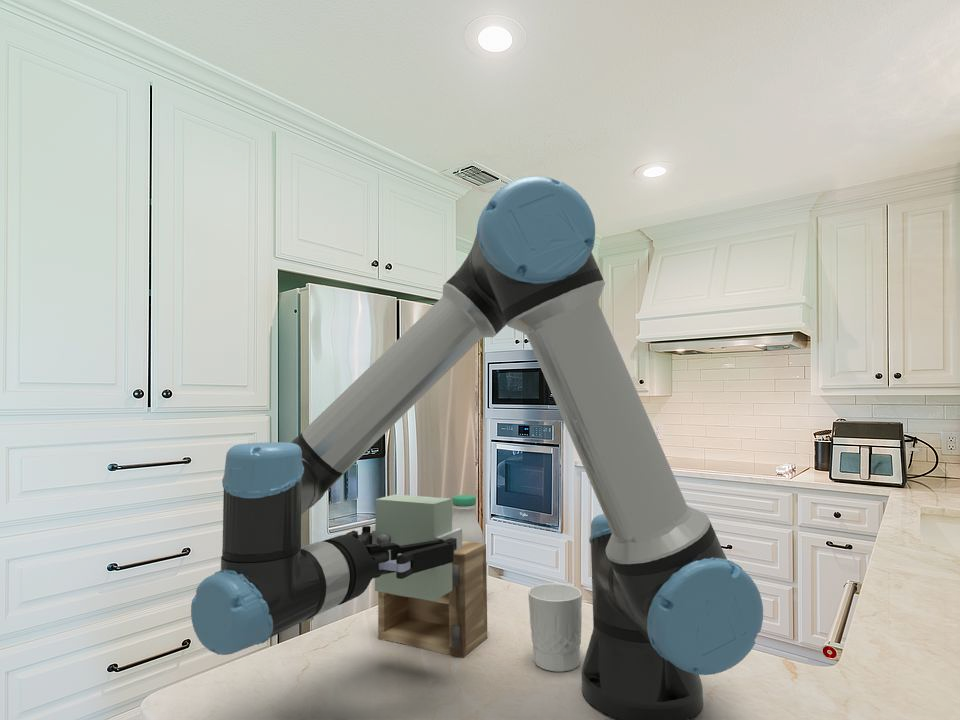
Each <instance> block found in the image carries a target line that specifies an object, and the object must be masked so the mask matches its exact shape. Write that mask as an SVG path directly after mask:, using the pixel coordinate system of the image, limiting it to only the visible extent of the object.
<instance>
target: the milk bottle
mask: <svg viewBox="0 0 960 720" xmlns="http://www.w3.org/2000/svg"><path fill="white" fill-rule="evenodd" d="M476 503H477V497H476V496H475V495H473V494H458V495H454V496H452V509H453V513H452V530H455V529H457V528H460V529H462V541H467V542H476V543H484V544H485V539H484V534H483V531H482V528H481V526H480V524H479V521H478V518H477V515H476V511H475V510H476V509H475V508H477V505H476Z"/></svg>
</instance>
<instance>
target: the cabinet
mask: <svg viewBox="0 0 960 720" xmlns="http://www.w3.org/2000/svg"><path fill="white" fill-rule="evenodd" d="M487 575H488V574H487V543H485V542H484V543H476V542H467V541H462V548H460V549H458V550H456V551H454V562H452V591H450V592H449V593H447V594H445V595H444V596H442V597H440V598H439V599H437V600H435V601H430V600H424V599H419V598H413V597H407V596H402V595H396V594H390V593H384V592H379V591H377V594H378V595H377V599H378V600H377V605H378V606H377V609H378V610H377V613H378V614H377V616H378V617H377V622H378V623H377V625H378V626H377V628H378V630H377V631H378V632H377V633H378V635H377V638H380V639H379V640H382V639H384V640H383V641H387V640H390V641H389V642H391V641H394V642H393V643H396V642H399V643H398V644H400V643H403V644H402V645H404V644H407V645H406V646H409V645H410V647H414V648H418V649H424V650H427V651H432V652H436V653H441V654H445V655H449V656H454V657H459V658H465V657H467V655H468V654H470V653H471V652H472V651H473V650H475V649H476V648H477V647H478V646H480V645H481V644H482V643H484V641H486V640H487V639H488V596H487V595H488V594H487V593H488V591H487V590H488V589H487V587H488V585H487V583H488V582H487Z"/></svg>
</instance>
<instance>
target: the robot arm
mask: <svg viewBox="0 0 960 720" xmlns="http://www.w3.org/2000/svg"><path fill="white" fill-rule="evenodd" d="M595 241H596V223H595V219H594V214H593V212H592V210H591V208H590V206H589V204H588V202H587V201H586V200H585V199H584V198H583V196H582V195H581V194H580V193H579V192H578V191H577V190H576V189H574V188H573V187H572V186H570V185H568V184H567V183H566V182H564V181H559V180H556V179H554V178H551V177H548V176H542V175H540V176H539V175H534V176H524V177H521V178H517V179H515V180H513V181H510V182H508V183H506V184H505V185H503V186H502V187H501V188H499V189H498V190H497V191H496V192H495V193H494V194H493V196H491V198H490V199H489V201H488V202H487V204H486V205H485V206H484V208H483V209H482V211H481V213H480V215H479V218H478V221H477V225H476V234H475V237H474V241H473V244H472V246H471V249H470V251H469V253H468V255H467V256H466V258H465V260H464V261H463V262H462V263H461V265H460V267H459V268H458V270H456V271H455V273H454V274H453V275H452V276H451V277H450V278H449V279H448V280H447V281H446V282H445V283H444V284H443V285H442V296H441V298H440V299H439V300H438V301H437V302H435V303H434V304H433V305H432V306H431V307H430V308H429V309H428V310H427V311H426V312H425V313H424V314H423V315H422V316H421V317H420V318H419V319H418V320H417V321H415V323H414V324H413V325H412V326H410V327H409V328H408V330H406V331H405V332H404V333H403V334H402V335H401V336H400V337H399V338H398V339H397V340H396V341H395V342H394V343H393V344H392V345H391V346H390V347H388V349H386V350H385V352H384V353H382V354H381V355H380V356H379V357H378V358H377V359H376V360H375V361H374V362H373V363H372V364H371V365H370V366H369V367H368V368H367V369H366V370H365V371H364V372H363V373H362V374H360V376H359V377H357V379H356V380H354V381H353V383H352V384H351V385H349V386H348V387H347V388H346V389H345V390H344V391H343V392H342V393H341V394H340V395H338V397H337V398H335V400H334V401H333V402H332V403H330V405H328V406H327V407H326V408H325V409H324V411H322V412H321V413H320V414H319V415H317V417H316V418H315V419H314V420H313V421H312V422H311V423H310V424H309V425H308V426H307V427H305V428H304V429H303V430H302V431H301V432H300V434H299V435H298V436H296V437H295V438H294V439H293V440H292V441H291V442H288V441H287V442H286V441H285V442H284V441H282V442H281V441H279V442H274V441H273V442H268V441H267V442H251V443H239V444H236V445H233V446H231V447H230V448H229V449H228V451H227V452H226V454H225V464H224V472H223V473H224V474H223V477H222V479H221V480H222V481H221V484H222V488H223V501H222V503H223V504H222V506H223V507H222V508H223V509H222V511H223V512H222V549H221V550H222V551H221V552H222V553H221V557H220V570H218V571H215V573H213V574H211V575H209V576H207V577H205V578H204V579H203V580H202V581H201V582H200V583H199V584H198V586H197V587H196V591H195V593H196V594H195V595H194V596H193V598H192V599H191V605H190V617H191V618H190V619H191V625H192V627H193V630H194V633H195V636H196V637H197V638H198V641H199V642H200V643H201V645H202V646H203V647H204V648H205V649H207V650H208V651H210V652H212V653H214V654H217V655H219V656H227V655H228V656H229V655H233V654H236V653H238V652H240V651H244V650H246V649H249V648H250V647H253V646H256V645H261V644H264V643H266V642H268V641H269V640H270V639H271V638H273V637H274V636H277V635H279V634H281V633H282V632H285V631H286V630H289V629H291V628H293V627H295V626H297V625H298V624H301V623H303V622H312V621H313V620H314V617H316V616H318V615H321V614H322V613H323V614H324V613H325V612H327V611H329V610H331V609H333V608H335V607H337V606H341V605H343V604H344V603H347V602H349V601H352V600H354V599H356V598H357V597H360V596H361V595H362V594H363V593H364V592H366V590H367V589H368V587H369V585H370V583H372V580H373V579H375V578H378V577H380V576H381V575H383V574H388V573H394V572H396V578H398V579H403V578H406V577H408V576H409V575H411V574H414V573H417V572H420V571H424V570H427V569H431V568H434V567H438V566H441V565H445V564H448V563H452V562H454V551H456V550H458V549H460V548H462V529H460V528H457V529H455V530H452V531H450V532H448V533H445V534H443V535H440V536H438V537H435V540H434V541H427V542H421V543H414V544H408V545H401V546H399V545H397V544H395V543H389V544H382V545H377V544H375V529H373V530H372V529H371V525H365V526H362V527H361V534H359V531H357V530H351V531H349V532H347V533H345V534H342V535H337V536H334V537H330V538H328V539H324V540H322V541H317V542H313V543H310V544H307V545H304V546H302V542H301V541H302V539H301V538H302V537H301V535H302V515H303V514H304V513H305V512H306V511H307V510H309V509H311V508H312V507H313V506H314V505H316V504H317V503H318V502H319V501H320V500H321V499H322V498H323V497H324V495H325V494H326V493H327V491H329V490H330V488H332V486H333V485H334V484H335V483H336V482H338V481H339V479H341V477H342V476H343V475H344V474H345V473H346V472H348V470H349V469H350V468H351V467H352V466H353V465H354V464H355V463H357V461H358V460H359V459H360V458H362V457H363V456H364V454H365V453H366V452H368V450H370V449H371V447H373V446H374V444H375V443H377V442H378V441H379V440H380V439H381V438H382V437H383V436H384V435H385V434H386V433H387V432H388V431H389V430H390V429H391V428H392V427H393V426H394V425H395V424H396V423H397V422H398V421H399V420H400V419H401V418H402V417H403V416H404V415H405V414H407V413H408V411H409V410H410V409H411V408H412V407H414V405H415V404H416V403H417V402H418V401H420V399H422V398H423V396H425V395H426V394H427V393H428V392H429V391H430V390H431V388H433V387H434V385H436V384H437V383H438V382H439V380H441V379H442V378H443V377H444V376H445V375H446V374H447V373H448V372H449V371H450V370H451V369H452V368H453V367H454V366H456V364H457V363H458V362H459V361H460V360H461V359H462V358H463V357H464V356H466V354H467V353H468V352H469V351H470V350H471V349H472V348H474V346H475V345H476V344H477V343H479V341H480V340H481V339H483V338H484V339H485V338H495V336H496V335H497V334H498V333H500V331H501V330H502V329H504V328H505V327H506V326H507V327H509V328H512V329H514V330H516V331H518V332H521V333H522V334H524V335H526V338H527V339H528V342H529V344H530V346H531V349H532V351H533V353H534V356H535V358H536V361H537V362H538V364H539V367H540V369H541V372H542V373H543V377H544V379H545V381H546V383H547V386H548V387H549V390H550V393H551V394H552V398H553V400H554V401H555V402H554V403H555V404H556V407H557V409H558V411H559V413H560V416H561V418H562V420H563V422H564V425H565V427H566V429H567V432H568V433H569V434H568V435H569V436H570V438H571V441H572V443H573V445H574V448H575V450H576V453H577V455H578V457H579V459H580V461H581V464H582V466H583V469H584V471H585V473H586V475H587V478H588V480H589V483H590V485H591V488H592V489H593V491H594V494H595V496H596V499H597V501H598V503H599V506H600V508H601V511H602V512H603V514H598V515H596V516H595V517H593V518H592V520H591V523H590V536H589V539H588V540H589V544H590V560H591V567H590V568H591V589H592V592H591V593H592V619H593V620H592V621H593V629H592V633H591V636H590V640H589V643H588V646H587V650H586V654H585V657H584V661H583V664H582V666H581V673H580V674H581V693H582V695H583V696H584V698H585V699H586V701H587V702H588V703H589V704H590V705H592V706H593V707H594V708H595V709H597V710H598V711H599V712H602V713H604V714H606V715H607V716H610V717H612V718H615V719H618V720H687V719H689V720H691V719H693V718H694V716H695V715H696V716H697V715H698V714H700V712H701V711H702V708H703V707H704V706H703V705H704V696H703V694H704V693H703V683H702V679H701V676H702V675H703V676H707V675H708V676H709V675H710V676H711V675H716V674H719V673H723V672H726V671H727V670H730V669H733V668H734V667H735V666H737V665H738V664H739V663H740V662H742V661H743V660H744V659H745V658H746V657H747V656H748V655H749V654H750V652H751V651H752V650H753V648H754V646H755V645H756V638H757V637H758V634H759V633H761V631H762V628H763V627H762V626H763V621H764V605H763V600H762V595H761V592H760V590H759V588H758V586H757V584H756V583H755V581H754V580H753V579H752V577H751V576H750V575H749V574H748V573H747V572H746V571H745V570H744V569H743V567H741V565H739V564H738V563H736V562H734V561H732V560H730V559H728V558H727V557H726V554H725V551H724V549H723V547H722V545H721V543H720V541H719V538H718V536H717V534H716V531H715V530H714V528H713V525H712V523H711V521H710V519H709V516H708V515H707V514H706V513H705V512H704V511H703V512H702V511H700V510H699V509H696V508H693V507H691V506H689V504H687V502H686V500H685V498H684V496H683V495H684V494H683V493H682V491H681V488H680V486H679V484H678V481H677V480H676V477H675V475H674V472H673V471H672V468H671V466H670V463H669V460H668V459H667V457H666V455H665V453H664V450H663V447H662V446H661V443H660V441H659V439H658V437H657V433H656V432H655V429H654V427H653V425H652V423H651V420H650V418H649V416H648V414H647V411H646V409H645V406H644V405H643V403H642V399H641V397H640V396H639V392H638V390H637V389H636V386H635V384H634V382H633V379H632V377H631V374H630V373H629V370H628V368H627V365H626V364H625V361H624V358H623V356H622V355H621V352H620V350H619V347H618V345H617V343H616V340H615V338H614V336H613V333H612V332H611V329H610V326H609V325H608V323H607V320H606V318H605V315H604V314H603V311H602V309H601V307H600V298H601V294H602V293H603V290H604V287H605V284H606V282H605V280H604V278H603V275H602V273H601V271H600V268H599V265H598V263H597V261H596V259H595V256H594V255H593V252H592V251H593V249H594V246H595ZM371 530H372V531H371ZM388 550H391V560H389V552H388ZM696 716H695V717H696ZM692 717H693V718H692ZM690 718H691V719H690Z"/></svg>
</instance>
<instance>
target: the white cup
mask: <svg viewBox="0 0 960 720" xmlns="http://www.w3.org/2000/svg"><path fill="white" fill-rule="evenodd" d="M527 592H528V607H529V623H530V630H531V641H532V654H533V655H532V657H533V661H534V663H535V665H536V666H538V667H539V668H541V669H543V670H546V671H551V672H563V673H564V672H568V671H573V670H574V669H577V667H579V665H580V663H581V644H582V617H583V616H582V606H583V605H582V603H583V602H582V601H583V592H582V591H581V590H580V588H578V587H576V586H573V585H569V584H564V583H554V582H552V583H542V584H537V585H534V586H532V587H530V588H529V589H528V591H527Z"/></svg>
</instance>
